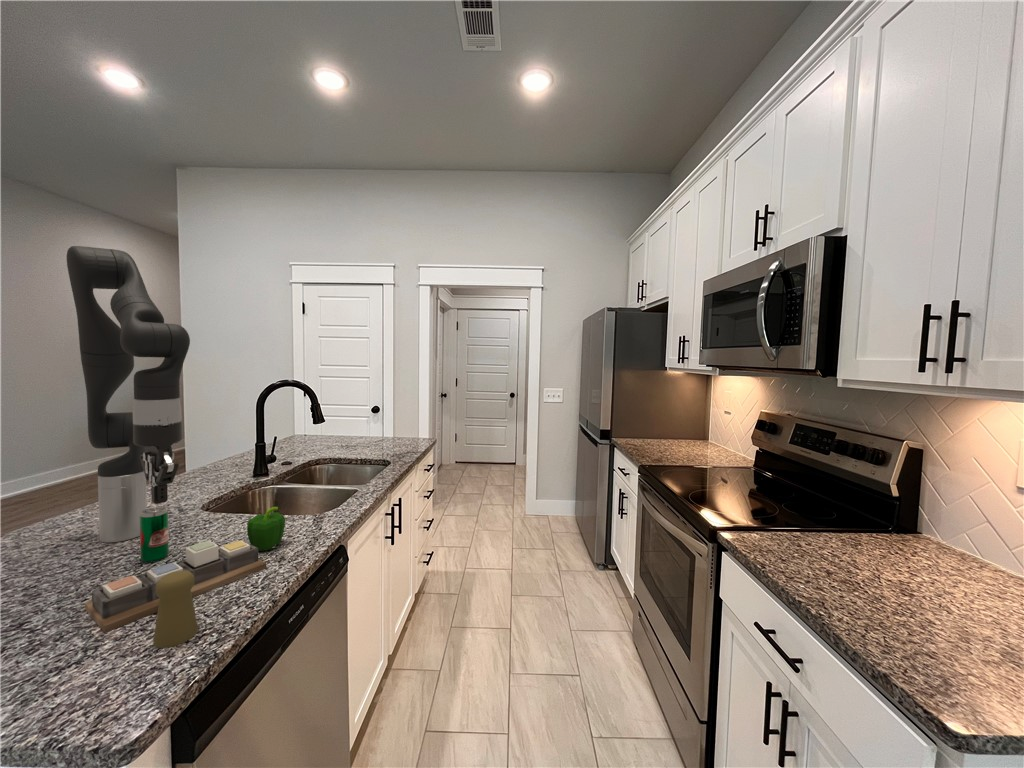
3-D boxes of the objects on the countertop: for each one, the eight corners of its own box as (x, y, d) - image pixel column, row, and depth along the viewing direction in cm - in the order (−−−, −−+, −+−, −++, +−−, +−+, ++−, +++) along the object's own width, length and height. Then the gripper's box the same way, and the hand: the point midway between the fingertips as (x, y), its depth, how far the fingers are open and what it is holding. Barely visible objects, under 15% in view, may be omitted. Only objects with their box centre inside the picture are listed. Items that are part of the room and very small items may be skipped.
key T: (147, 585, 81) (147, 569, 81) (174, 575, 85) (174, 560, 84) (155, 592, 79) (155, 576, 78) (183, 582, 82) (182, 566, 82)
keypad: (84, 609, 76) (84, 587, 76) (241, 553, 99) (240, 537, 99) (104, 632, 70) (103, 609, 70) (266, 568, 93) (266, 550, 93)
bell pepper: (244, 557, 98) (244, 517, 97) (249, 543, 105) (248, 506, 104) (284, 550, 101) (284, 512, 101) (285, 537, 109) (285, 501, 108)
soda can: (151, 564, 93) (151, 514, 92) (134, 562, 94) (133, 512, 93) (174, 554, 98) (173, 506, 97) (157, 552, 99) (156, 504, 98)
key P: (219, 560, 92) (219, 546, 92) (240, 552, 96) (240, 539, 95) (228, 565, 89) (228, 551, 89) (250, 557, 93) (250, 544, 93)
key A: (185, 561, 86) (185, 546, 86) (209, 553, 90) (209, 539, 90) (194, 567, 84) (194, 552, 84) (218, 559, 88) (218, 544, 87)
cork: (170, 625, 72) (169, 565, 72) (206, 624, 73) (205, 565, 72) (143, 648, 66) (141, 584, 66) (181, 647, 67) (180, 583, 66)
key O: (103, 600, 75) (102, 583, 75) (134, 590, 79) (133, 573, 79) (110, 608, 73) (110, 591, 73) (142, 597, 77) (141, 580, 77)
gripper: (121, 418, 82) (124, 500, 83) (146, 426, 75) (148, 515, 77) (167, 414, 89) (169, 490, 90) (194, 422, 82) (195, 504, 83)
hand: (159, 502), depth 83 cm, fingers closed
